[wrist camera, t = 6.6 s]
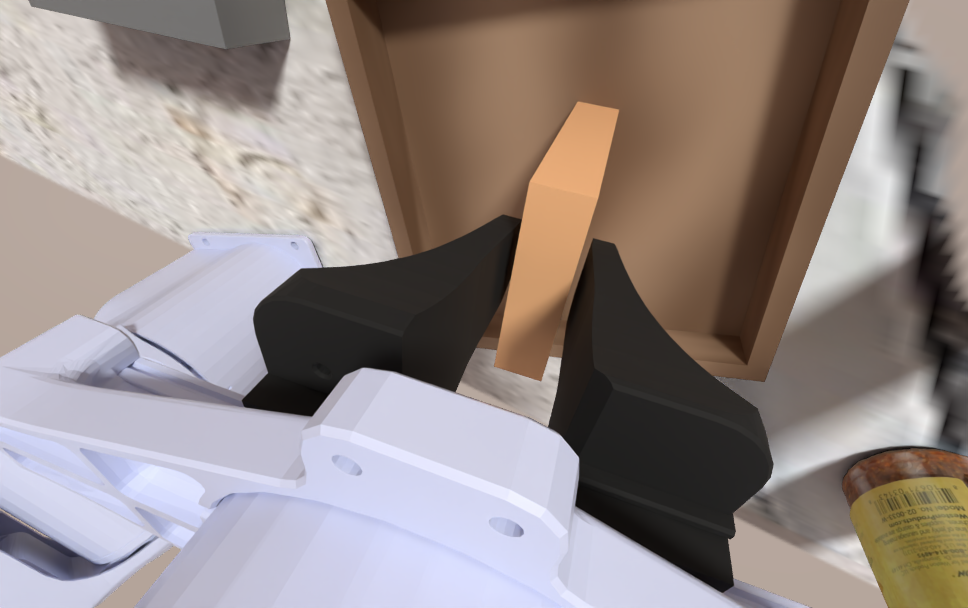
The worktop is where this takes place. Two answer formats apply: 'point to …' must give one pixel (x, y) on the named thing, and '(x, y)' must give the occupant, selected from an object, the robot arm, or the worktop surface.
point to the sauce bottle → (913, 525)
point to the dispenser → (187, 18)
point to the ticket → (553, 237)
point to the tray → (629, 138)
